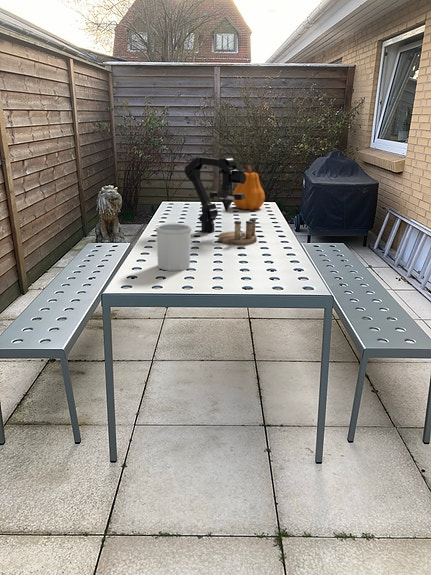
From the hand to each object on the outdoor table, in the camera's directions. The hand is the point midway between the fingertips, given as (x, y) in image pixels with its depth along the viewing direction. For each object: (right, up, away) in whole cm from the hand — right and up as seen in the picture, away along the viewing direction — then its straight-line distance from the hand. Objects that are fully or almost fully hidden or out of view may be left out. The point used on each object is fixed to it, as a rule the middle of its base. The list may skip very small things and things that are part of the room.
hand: (226, 211), depth 253 cm
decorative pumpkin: (+18, +16, +84) cm, 87 cm away
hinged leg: (+6, -15, -12) cm, 20 cm away
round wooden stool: (+6, -16, -6) cm, 18 cm away
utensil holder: (-24, -32, -52) cm, 65 cm away
